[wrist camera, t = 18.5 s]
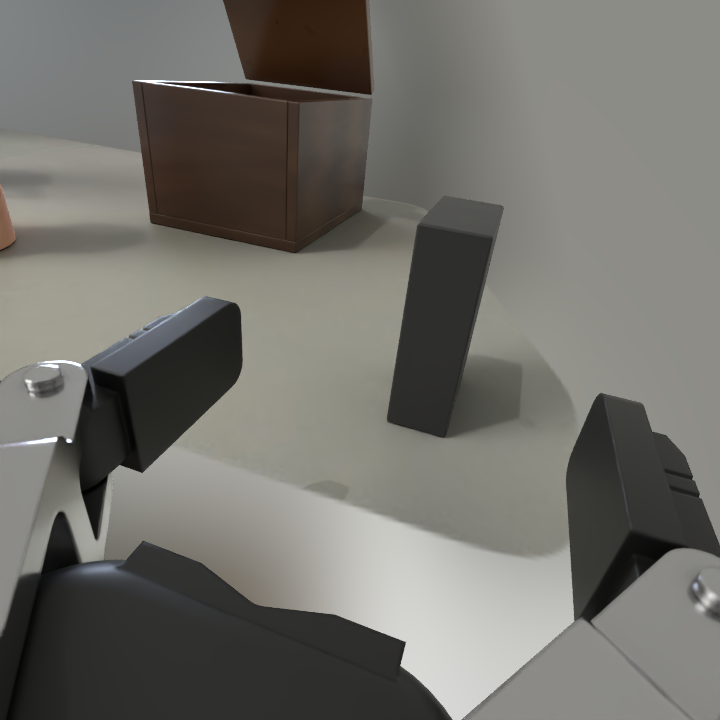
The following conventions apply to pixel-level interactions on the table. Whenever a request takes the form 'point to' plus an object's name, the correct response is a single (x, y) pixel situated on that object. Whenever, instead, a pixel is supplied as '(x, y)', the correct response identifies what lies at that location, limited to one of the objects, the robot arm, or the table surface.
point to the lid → (305, 42)
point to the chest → (252, 159)
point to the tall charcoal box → (441, 310)
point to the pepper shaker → (5, 224)
